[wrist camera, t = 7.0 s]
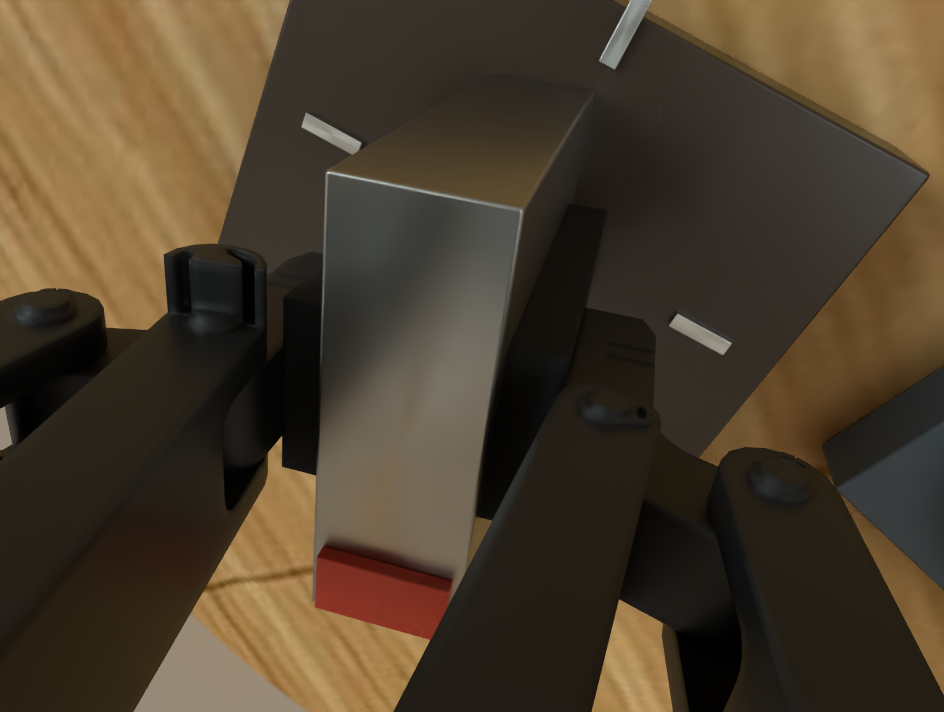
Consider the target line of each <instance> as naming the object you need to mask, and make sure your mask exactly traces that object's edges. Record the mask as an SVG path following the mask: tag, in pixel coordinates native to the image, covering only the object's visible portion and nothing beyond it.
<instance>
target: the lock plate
mask: <svg viewBox="0 0 944 712" xmlns="http://www.w3.org/2000/svg"><path fill="white" fill-rule="evenodd" d="M651 2H652V0H630V1H628V0H290V2H289V5H288V9H287V12H286V15H285V19H284V22H283V25H282V29H281V32H280V36H279V39H278V42H277V46H276V49H275V52H274V56H273V59H272V63H271V66H270V69H269V73H268V76H267V79H266V83H265V86H264V90H263V93H262V96H261V100H260V103H259V106H258V110H257V113H256V117H255V120H254V123H253V127H252V130H251V133H250V137H249V140H248V144H247V147H246V150H245V154H244V157H243V160H242V164H241V167H240V171H239V174H238V177H237V181H236V184H235V187H234V191H233V194H232V198H231V201H230V204H229V208H228V211H227V214H226V218H225V221H224V225H223V228H222V231H221V235H220V238H219V241H218V244H223V245H234V246H238V247H242V248H246V249H249V250H252V251H254V252H256V253H257V254H259V255H261V256H262V257H263V258H264V260H265V261H266V263H267V275H268V274H269V273H273V272H274V270H275V269H276V268H277V267H279V266H280V265H281V264H283V263H284V262H285V261H287V260H288V259H290V258H293V257H296V256H300V255H303V254H306V253H309V252H312V251H313V252H317V253H322V254H323V242H324V209H325V176H326V171H327V169H329V168H331V167H332V166H334V165H336V164H337V163H339V162H341V161H343V160H344V159H346V158H348V157H349V156H351V155H353V154H354V153H356V152H358V151H360V150H361V149H363V148H365V147H366V146H368V145H370V144H371V143H373V142H375V141H377V140H378V139H380V138H382V137H383V136H385V135H387V134H388V133H390V132H392V131H394V130H395V129H397V128H399V127H400V126H402V125H404V124H405V123H407V122H409V121H411V120H412V119H414V118H416V117H417V116H419V115H421V114H422V113H424V112H426V111H428V110H429V109H431V108H433V107H434V106H436V105H438V104H439V103H441V102H443V101H445V100H446V99H448V98H450V97H451V96H453V95H455V94H456V93H458V92H460V91H462V90H463V89H465V88H467V87H468V86H470V85H472V84H473V83H475V82H477V81H479V80H480V79H482V78H484V77H485V76H487V75H489V74H497V75H502V76H508V77H514V78H520V79H526V80H532V81H538V82H544V83H550V84H556V85H562V86H568V87H574V88H580V89H586V90H592V91H594V92H595V96H594V101H593V106H592V111H591V116H590V122H589V127H588V132H587V137H586V142H585V147H584V152H583V157H582V163H581V168H580V173H579V178H578V183H577V188H576V193H575V198H574V204H576V205H581V206H586V207H591V208H596V209H601V210H606V211H607V216H606V220H605V225H604V229H603V234H602V238H601V243H600V247H599V252H598V256H597V261H596V265H595V270H594V274H593V279H592V283H591V288H590V292H589V297H588V301H587V306H586V308H591V309H596V310H600V311H605V312H610V313H614V314H619V315H624V316H628V317H633V318H638V319H642V320H644V321H645V322H646V323H647V325H648V326H649V327H650V329H651V330H652V331H653V333H654V334H655V335H656V351H655V366H654V367H655V378H654V406H653V407H654V408H655V409H656V410H657V412H658V413H659V414H660V420H661V429H660V432H661V433H662V434H663V435H664V436H665V437H666V438H667V439H668V440H669V441H670V442H672V443H673V444H675V445H676V446H678V447H679V448H680V449H682V450H684V451H686V452H687V453H689V454H691V455H693V456H695V457H697V458H699V457H700V456H701V454H702V453H703V452H704V451H705V450H706V448H707V447H708V446H709V445H710V444H711V442H712V441H713V440H714V439H715V437H716V436H717V435H718V434H719V433H720V431H721V430H722V429H723V428H724V427H725V425H726V424H727V423H728V422H729V420H730V419H731V418H732V417H733V416H734V414H735V413H736V412H737V411H738V409H739V408H740V407H741V406H742V405H743V403H744V402H745V401H746V400H747V399H748V397H749V396H750V395H751V394H752V392H753V391H754V390H755V389H756V388H757V386H758V385H759V384H760V383H761V381H762V380H763V379H764V378H765V377H766V375H767V374H768V373H769V372H770V371H771V369H772V368H773V367H774V366H775V364H776V363H777V362H778V361H779V360H780V358H781V357H782V356H783V355H784V353H785V352H786V351H787V350H788V349H789V347H790V346H791V345H792V344H793V343H794V341H795V340H796V339H797V338H798V336H799V335H800V334H801V333H802V332H803V330H804V329H805V328H806V327H807V325H808V324H809V323H810V322H811V321H812V319H813V318H814V317H815V316H816V315H817V313H818V312H819V311H820V310H821V308H822V307H823V306H824V305H825V304H826V302H827V301H828V300H829V299H830V297H831V296H832V295H833V294H834V293H835V291H836V290H837V289H838V288H839V287H840V285H841V284H842V283H843V282H844V280H845V279H846V278H847V277H848V276H849V274H850V273H851V272H852V271H853V270H854V268H855V267H856V266H857V265H858V263H859V262H860V261H861V260H862V259H863V257H864V256H865V255H866V254H867V252H868V251H869V250H870V249H871V248H872V246H873V245H874V244H875V243H876V242H877V240H878V239H879V238H880V237H881V235H882V234H883V233H884V232H885V231H886V229H887V228H888V227H889V226H890V224H891V223H892V222H893V221H894V220H895V218H896V217H897V216H898V215H899V214H900V212H901V211H902V210H903V209H904V207H905V206H906V205H907V204H908V203H909V201H910V200H911V199H912V198H913V196H914V195H915V194H916V193H917V192H918V190H919V189H920V188H921V187H922V186H923V184H924V183H925V182H926V181H927V179H928V178H929V176H930V174H929V173H928V172H927V171H926V170H925V169H923V168H922V167H921V166H920V165H918V164H917V163H916V162H914V161H913V160H912V159H911V158H909V157H908V156H907V155H906V154H904V153H903V152H902V151H900V150H899V149H898V148H897V147H895V146H893V145H891V144H889V143H888V142H886V141H884V140H882V139H880V138H879V137H877V136H875V135H873V134H871V133H869V132H868V131H866V130H864V129H862V128H860V127H858V126H857V125H855V124H853V123H851V122H849V121H848V120H846V119H844V118H842V117H840V116H838V115H837V114H835V113H833V112H831V111H829V110H827V109H826V108H824V107H822V106H820V105H818V104H816V103H815V102H813V101H811V100H809V99H807V98H806V97H804V96H802V95H800V94H798V93H796V92H795V91H793V90H791V89H789V88H787V87H785V86H784V85H782V84H780V83H778V82H776V81H774V80H773V79H771V78H769V77H767V76H765V75H764V74H762V73H760V72H758V71H756V70H754V69H753V68H751V67H749V66H747V65H745V64H743V63H742V62H740V61H738V60H736V59H734V58H733V57H731V56H729V55H727V54H725V53H723V52H722V51H720V50H718V49H716V48H714V47H712V46H711V45H709V44H707V43H705V42H703V41H701V40H700V39H698V38H696V37H694V36H692V35H691V34H689V33H687V32H685V31H683V30H681V29H680V28H678V27H676V26H674V25H672V24H670V23H669V22H667V21H665V20H663V19H661V18H659V17H658V16H656V15H654V14H652V13H650V12H649V11H647V9H648V7H649V6H650V4H651Z"/></svg>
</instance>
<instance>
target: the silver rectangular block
mask: <svg viewBox="0 0 944 712" xmlns="http://www.w3.org/2000/svg"><path fill="white" fill-rule="evenodd" d="M594 96H595V92H594V91H592V90H586V89H580V88H574V87H568V86H562V85H556V84H550V83H544V82H538V81H532V80H526V79H520V78H514V77H508V76H502V75H497V74H489V75H487V76H485V77H484V78H482V79H480V80H479V81H477V82H475V83H473V84H472V85H470V86H468V87H467V88H465V89H463V90H462V91H460V92H458V93H456V94H455V95H453V96H451V97H450V98H448V99H446V100H445V101H443V102H441V103H439V104H438V105H436V106H434V107H433V108H431V109H429V110H428V111H426V112H424V113H422V114H421V115H419V116H417V117H416V118H414V119H412V120H411V121H409V122H407V123H405V124H404V125H402V126H400V127H399V128H397V129H395V130H394V131H392V132H390V133H388V134H387V135H385V136H383V137H382V138H380V139H378V140H377V141H375V142H373V143H371V144H370V145H368V146H366V147H365V148H363V149H361V150H360V151H358V152H356V153H354V154H353V155H351V156H349V157H348V158H346V159H344V160H343V161H341V162H339V163H337V164H336V165H334V166H332V167H331V168H329V169H327V171H326V176H325V209H324V242H323V275H322V307H321V340H320V373H319V406H318V438H317V471H316V504H315V537H314V569H313V601H314V602H315V607H316V608H319V609H322V610H326V611H330V612H333V613H337V614H340V615H344V616H347V617H351V618H354V619H358V620H361V621H365V622H369V623H372V624H376V625H379V626H383V627H386V628H390V629H393V630H397V631H401V632H404V633H408V634H411V635H415V636H418V637H422V638H425V639H429V640H431V638H432V636H433V634H434V632H435V630H436V628H437V627H438V625H439V623H440V621H441V619H442V617H443V615H444V613H445V611H446V609H447V607H448V605H449V603H450V601H451V599H452V597H453V596H454V594H455V592H456V590H457V588H458V586H459V584H460V582H461V580H462V578H463V576H464V574H465V572H466V570H467V568H468V567H469V565H470V563H471V561H472V559H473V557H474V555H475V553H476V551H477V549H478V547H479V545H480V543H481V541H482V539H483V537H484V536H485V534H486V532H487V530H488V528H489V526H490V524H491V522H492V521H491V520H487V519H483V518H480V514H481V508H482V502H483V497H484V491H485V485H486V479H487V473H488V467H489V461H490V455H491V449H492V443H493V437H494V431H495V425H496V419H497V413H498V408H499V402H500V396H501V390H502V384H503V378H504V372H505V366H506V360H507V354H508V348H509V346H510V343H511V341H512V338H513V336H514V334H515V331H516V329H517V327H518V324H519V322H520V320H521V317H522V315H523V313H524V310H525V308H526V306H527V303H528V301H529V298H530V296H531V294H532V291H533V289H534V287H535V284H536V282H537V280H538V277H539V275H540V273H541V270H542V268H543V265H544V263H545V261H546V258H547V256H548V254H549V251H550V249H551V247H552V244H553V242H554V240H555V237H556V235H557V232H558V230H559V228H560V225H561V223H562V221H563V218H564V216H565V214H566V211H567V209H568V207H569V204H574V198H575V193H576V188H577V183H578V178H579V173H580V168H581V163H582V157H583V152H584V147H585V142H586V137H587V132H588V127H589V122H590V116H591V111H592V106H593V101H594Z"/></svg>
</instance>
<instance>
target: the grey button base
mask: <svg viewBox="0 0 944 712" xmlns="http://www.w3.org/2000/svg"><path fill="white" fill-rule="evenodd" d="M822 449H823V452H824V455H825V458H826V461H827V464H828V467H829V470H830V474H831V477H832V480H833V483H834V486H835V488H836V489H837V491H838V492H839V493H840V494H841V495H842V496H843V497H844V498H845V499H847V500H848V501H849V502H850V503H851V504H852V505H853V506H854V507H855V508H856V509H857V510H858V511H859V512H860V513H862V514H863V515H864V516H865V517H866V518H867V519H868V520H869V521H870V522H871V523H872V524H873V525H874V526H875V527H876V528H878V529H879V530H880V531H881V532H882V533H883V534H884V535H885V536H886V537H887V538H888V539H889V540H890V541H891V542H893V543H894V544H895V545H896V546H897V547H898V548H899V549H900V550H901V551H902V552H903V553H904V554H905V555H906V556H908V557H909V558H910V559H911V560H912V561H913V562H914V563H915V564H916V565H917V566H918V567H919V568H920V569H921V570H923V571H924V572H925V573H926V574H927V575H928V576H929V577H930V578H931V579H932V580H933V581H934V582H935V583H936V584H938V585H939V586H940V587H941V588H942V589H943V590H944V366H943V367H941V368H940V369H938V370H936V371H935V372H933V373H932V374H930V375H929V376H927V377H926V378H924V379H923V380H921V381H919V382H918V383H916V384H915V385H913V386H912V387H910V388H909V389H907V390H906V391H904V392H902V393H901V394H899V395H898V396H896V397H895V398H893V399H892V400H890V401H889V402H887V403H886V404H884V405H882V406H881V407H879V408H878V409H876V410H875V411H873V412H872V413H870V414H869V415H867V416H865V417H864V418H862V419H861V420H859V421H858V422H856V423H855V424H853V425H852V426H850V427H849V428H847V429H845V430H844V431H842V432H841V433H839V434H838V435H836V436H835V437H833V438H832V439H830V440H828V441H827V442H825V443H824V444H823V445H822Z"/></svg>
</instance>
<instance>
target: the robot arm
mask: <svg viewBox="0 0 944 712" xmlns="http://www.w3.org/2000/svg"><path fill="white" fill-rule="evenodd" d="M606 216H607V211H606V210H601V209H596V208H591V207H586V206H581V205H576V204H569V207H568V209H567V211H566V214H565V216H564V218H563V221H562V223H561V225H560V228H559V230H558V232H557V235H556V237H555V240H554V242H553V244H552V247H551V249H550V251H549V254H548V256H547V258H546V261H545V263H544V265H543V268H542V270H541V273H540V275H539V277H538V280H537V282H536V284H535V287H534V289H533V291H532V294H531V296H530V298H529V301H528V303H527V306H526V308H525V310H524V313H523V315H522V317H521V320H520V322H519V324H518V327H517V329H516V331H515V334H514V336H513V338H512V341H511V343H510V346H509V348H508V354H507V360H506V366H505V372H504V378H503V384H502V390H501V396H500V402H499V408H498V413H497V419H496V425H495V431H494V437H493V443H492V449H491V455H490V461H489V467H488V473H487V479H486V485H485V491H484V497H483V502H482V508H481V514H480V518H483V519H487V520H491V521H492V522H491V524H490V526H489V528H488V530H487V532H486V534H485V536H484V537H483V539H482V541H481V543H480V545H479V547H478V549H477V551H476V553H475V555H474V557H473V559H472V561H471V563H470V565H469V567H468V568H467V570H466V572H465V574H464V576H463V578H462V580H461V582H460V584H459V586H458V588H457V590H456V592H455V594H454V596H453V597H452V599H451V601H450V603H449V605H448V607H447V609H446V611H445V613H444V615H443V617H442V619H441V621H440V623H439V625H438V627H437V628H436V630H435V632H434V634H433V636H432V638H431V640H430V642H429V644H428V646H427V648H426V650H425V652H424V654H423V656H422V657H421V659H420V661H419V663H418V665H417V667H416V669H415V671H414V673H413V675H412V677H411V679H410V681H409V683H408V685H407V687H406V688H405V690H404V692H403V694H402V696H401V698H400V700H399V702H398V704H397V706H396V708H395V710H394V712H591V711H592V707H593V703H594V699H595V695H596V691H597V687H598V683H599V679H600V675H601V670H602V666H603V662H604V658H605V654H606V650H607V646H608V642H609V638H610V634H611V630H612V625H613V621H614V617H615V613H616V609H617V605H618V601H619V599H620V600H622V601H624V602H625V603H627V604H629V605H631V606H633V607H635V608H637V609H638V610H640V611H642V612H644V613H646V614H648V615H649V616H651V617H653V618H655V619H657V620H659V621H660V622H662V623H663V629H662V640H663V647H664V653H665V660H666V667H667V674H668V680H669V687H670V694H671V700H672V707H673V712H944V695H943V693H942V691H941V689H940V687H939V685H938V683H937V681H936V679H935V677H934V676H933V674H932V672H931V670H930V668H929V666H928V664H927V662H926V660H925V658H924V656H923V654H922V652H921V650H920V648H919V646H918V645H917V643H916V641H915V639H914V637H913V635H912V633H911V631H910V629H909V627H908V625H907V623H906V621H905V619H904V617H903V616H902V614H901V612H900V610H899V608H898V606H897V604H896V602H895V600H894V598H893V596H892V594H891V592H890V590H889V588H888V586H887V585H886V583H885V581H884V579H883V577H882V575H881V573H880V571H879V569H878V567H877V565H876V563H875V561H874V559H873V557H872V555H871V554H870V552H869V550H868V548H867V546H866V544H865V542H864V540H863V538H862V536H861V534H860V532H859V530H858V528H857V526H856V524H855V523H854V521H853V519H852V517H851V515H850V513H849V511H848V509H847V507H846V505H845V503H844V501H843V499H842V497H841V495H840V493H839V492H838V491H837V489H836V488H835V487H834V486H833V484H832V483H831V482H830V480H829V479H828V478H827V477H826V476H824V475H823V474H822V473H820V472H819V471H818V470H816V469H815V468H813V467H812V466H811V465H809V464H808V463H807V462H805V461H803V460H801V459H799V458H795V456H792V455H790V454H787V453H784V452H777V451H774V450H770V449H766V448H751V447H744V448H740V449H736V450H733V451H729V452H728V453H727V454H726V455H725V456H724V457H723V458H722V459H721V461H720V464H719V467H718V466H716V465H713V464H711V463H709V462H706V461H704V460H702V459H699V458H697V457H695V456H693V455H691V454H689V453H687V452H686V451H684V450H682V449H680V448H679V447H678V446H676V445H675V444H673V443H672V442H670V441H669V440H668V439H667V438H666V437H665V436H664V435H663V434H662V433H661V432H660V429H661V420H660V414H659V413H658V412H657V410H656V409H655V408H654V407H653V406H654V378H655V367H654V366H655V351H656V335H655V334H654V333H653V331H652V330H651V329H650V327H649V326H648V325H647V323H646V322H645V321H644V320H642V319H638V318H633V317H628V316H624V315H619V314H614V313H610V312H605V311H600V310H596V309H591V308H586V306H587V301H588V297H589V292H590V288H591V283H592V279H593V274H594V270H595V265H596V261H597V256H598V252H599V247H600V243H601V238H602V234H603V229H604V225H605V220H606ZM164 265H165V279H166V292H167V305H168V313H166V314H165V315H164V316H163V317H162V318H161V319H160V320H159V321H157V322H156V323H155V324H154V325H153V326H152V327H151V328H150V329H148V330H136V329H118V328H106V325H105V316H104V308H103V306H102V304H101V303H100V301H99V300H98V299H96V298H94V297H92V296H90V295H88V294H85V293H80V292H75V291H71V290H68V289H58V290H56V288H52V289H42V290H40V291H36V292H29V293H24V294H20V295H17V296H14V297H10V298H7V299H4V300H2V301H0V408H2V407H4V406H5V410H6V415H7V420H8V425H9V430H10V434H11V439H12V445H10V446H9V447H7V448H5V449H3V450H0V712H133V711H134V710H135V708H136V706H137V704H138V703H139V701H140V699H141V698H142V696H143V694H144V693H145V691H146V689H147V687H148V686H149V684H150V682H151V680H152V679H153V677H154V675H155V674H156V672H157V670H158V668H159V667H160V665H161V663H162V661H163V660H164V658H165V656H166V655H167V653H168V651H169V649H170V648H171V646H172V644H173V642H174V641H175V639H176V637H177V636H178V634H179V632H180V630H181V629H182V627H183V625H184V623H185V622H186V620H187V618H188V617H189V615H190V613H191V611H192V610H193V608H194V606H195V604H196V603H197V601H198V599H199V598H200V596H201V594H202V592H203V591H204V589H205V587H206V585H207V584H208V582H209V580H210V579H211V577H212V575H213V573H214V572H215V570H216V568H217V566H218V565H219V563H220V561H221V560H222V558H223V556H224V554H225V553H226V551H227V549H228V547H229V546H230V544H231V542H232V541H233V539H234V537H235V535H236V534H237V532H238V530H239V529H240V527H241V525H242V523H243V522H244V520H245V518H246V516H247V515H248V513H249V511H250V510H251V508H252V506H253V504H254V503H255V501H256V499H257V497H258V496H259V494H260V492H261V491H262V489H263V487H264V485H265V483H266V479H267V475H268V452H269V451H270V449H271V448H272V447H273V446H274V445H275V443H276V442H277V441H278V440H279V438H280V437H281V436H282V467H285V468H289V469H293V470H297V471H301V472H305V473H309V474H313V475H316V471H317V438H318V406H319V373H320V340H321V307H322V275H323V254H322V253H317V252H313V251H312V252H309V253H306V254H303V255H300V256H296V257H293V258H290V259H288V260H287V261H285V262H284V263H283V264H281V265H280V266H279V267H277V268H276V269H275V270H274V272H273V273H269V274H268V275H267V263H266V261H265V260H264V258H263V257H262V256H261V255H259V254H257V253H256V252H254V251H252V250H249V249H246V248H242V247H238V246H234V245H223V244H200V245H191V246H186V247H181V248H177V249H175V250H172V251H170V252H168V253H166V254H164Z"/></svg>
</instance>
